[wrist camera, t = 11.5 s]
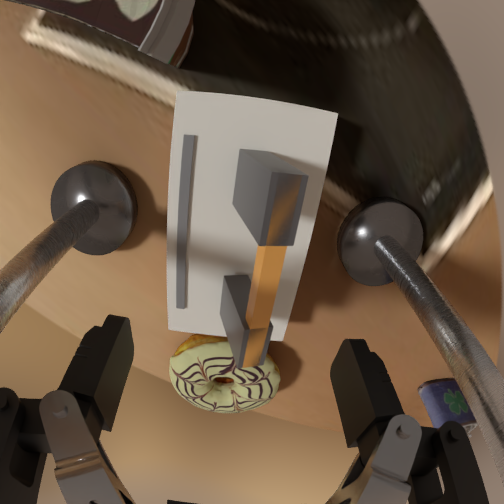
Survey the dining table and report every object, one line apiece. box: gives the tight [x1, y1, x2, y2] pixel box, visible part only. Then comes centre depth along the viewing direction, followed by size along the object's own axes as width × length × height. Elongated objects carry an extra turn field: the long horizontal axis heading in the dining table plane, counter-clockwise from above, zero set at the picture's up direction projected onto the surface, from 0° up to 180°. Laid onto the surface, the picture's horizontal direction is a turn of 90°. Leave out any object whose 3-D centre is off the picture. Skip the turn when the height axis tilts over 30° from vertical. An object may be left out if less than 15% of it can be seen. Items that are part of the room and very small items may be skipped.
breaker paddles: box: [220, 149, 309, 369], centre depth 16 cm, size 2×11×5 cm, turn 172°
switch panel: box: [167, 91, 338, 341], centre depth 20 cm, size 9×17×3 cm, turn 172°
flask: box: [418, 378, 478, 437], centre depth 29 cm, size 9×3×11 cm, turn 74°
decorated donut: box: [169, 334, 281, 413], centre depth 27 cm, size 10×11×4 cm
